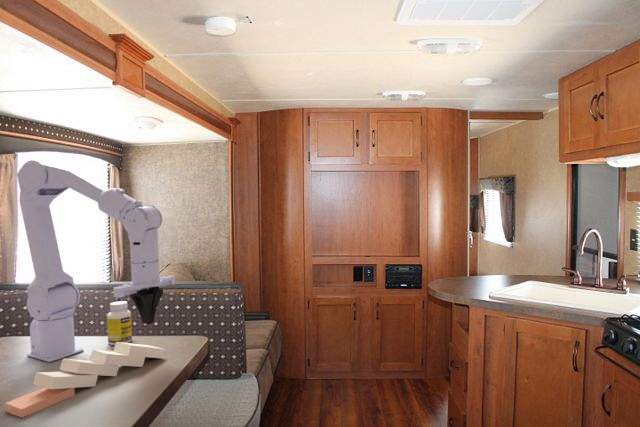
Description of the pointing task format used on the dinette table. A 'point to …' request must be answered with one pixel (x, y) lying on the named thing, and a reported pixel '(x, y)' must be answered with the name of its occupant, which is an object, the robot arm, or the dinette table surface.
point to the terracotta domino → (37, 401)
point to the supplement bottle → (119, 323)
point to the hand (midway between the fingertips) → (148, 323)
